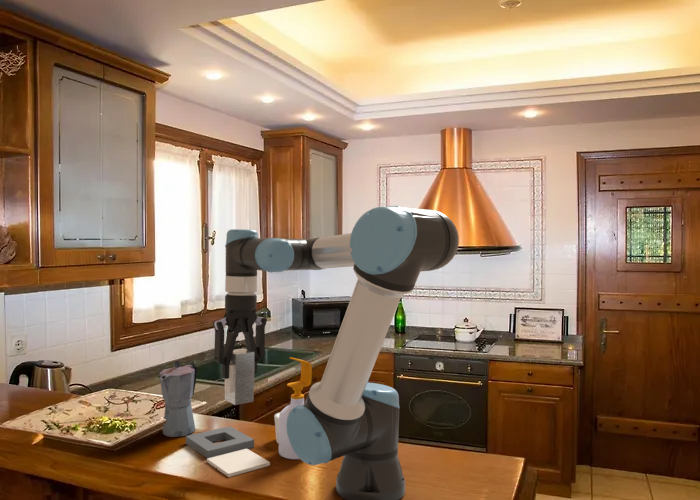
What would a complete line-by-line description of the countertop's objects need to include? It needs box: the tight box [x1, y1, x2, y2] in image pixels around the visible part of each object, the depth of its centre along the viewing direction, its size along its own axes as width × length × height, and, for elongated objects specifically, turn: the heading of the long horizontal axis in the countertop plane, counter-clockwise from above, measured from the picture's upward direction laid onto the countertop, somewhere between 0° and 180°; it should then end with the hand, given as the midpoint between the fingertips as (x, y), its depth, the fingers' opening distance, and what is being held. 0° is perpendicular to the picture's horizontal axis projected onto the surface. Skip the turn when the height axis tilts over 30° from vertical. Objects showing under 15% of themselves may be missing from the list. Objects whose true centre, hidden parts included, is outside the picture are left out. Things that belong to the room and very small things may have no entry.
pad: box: [206, 448, 271, 478], centre depth 136 cm, size 11×11×1 cm
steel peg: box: [224, 348, 255, 406], centre depth 136 cm, size 5×5×12 cm
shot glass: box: [273, 411, 281, 444], centre depth 152 cm, size 7×7×7 cm
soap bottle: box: [278, 356, 313, 460], centre depth 143 cm, size 9×9×25 cm
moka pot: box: [158, 360, 199, 438], centre depth 157 cm, size 10×15×20 cm, turn 163°
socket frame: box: [185, 426, 255, 460], centre depth 148 cm, size 13×13×2 cm
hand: (239, 389), depth 136 cm, fingers closed on steel peg, 5 cm apart
